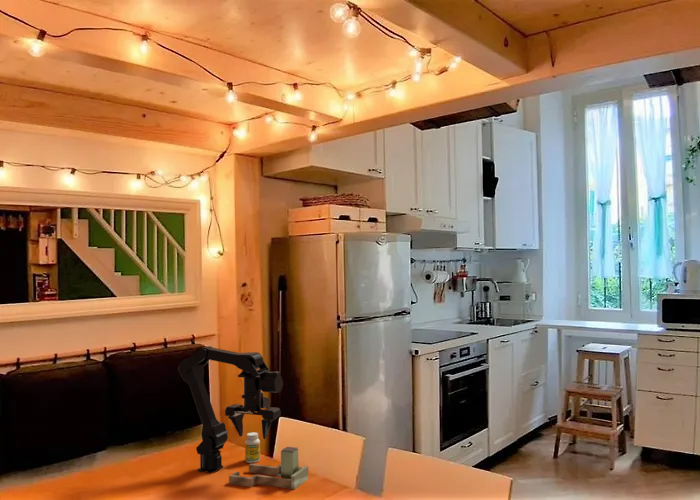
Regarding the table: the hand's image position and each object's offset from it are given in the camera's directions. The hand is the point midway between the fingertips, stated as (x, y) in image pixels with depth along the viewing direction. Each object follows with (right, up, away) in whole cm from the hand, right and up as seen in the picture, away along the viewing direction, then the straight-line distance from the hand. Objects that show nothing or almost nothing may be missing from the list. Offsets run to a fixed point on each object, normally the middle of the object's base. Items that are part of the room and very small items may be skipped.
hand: (252, 437), depth 195 cm
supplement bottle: (-3, -13, +15) cm, 20 cm away
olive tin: (+13, -12, -7) cm, 19 cm away
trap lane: (+7, -12, -5) cm, 15 cm away
